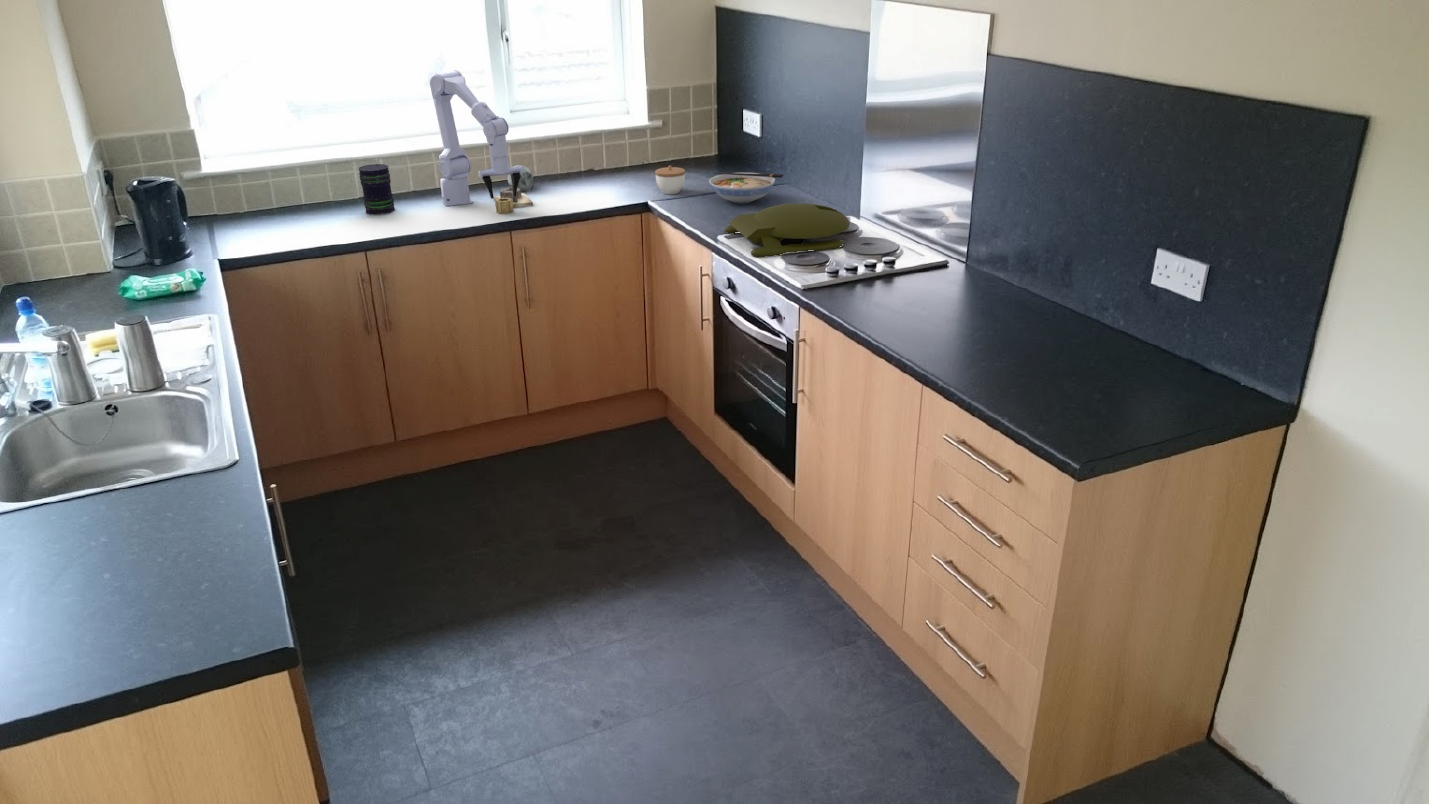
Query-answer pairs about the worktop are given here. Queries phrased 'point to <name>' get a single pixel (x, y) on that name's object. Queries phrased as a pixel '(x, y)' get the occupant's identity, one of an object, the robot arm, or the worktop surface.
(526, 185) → the spool
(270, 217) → the worktop surface
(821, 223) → the green sea turtle
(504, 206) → the brass gear
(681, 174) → the lidded jar
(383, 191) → the black green cylinder
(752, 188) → the ramen bowl
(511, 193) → the gear board
